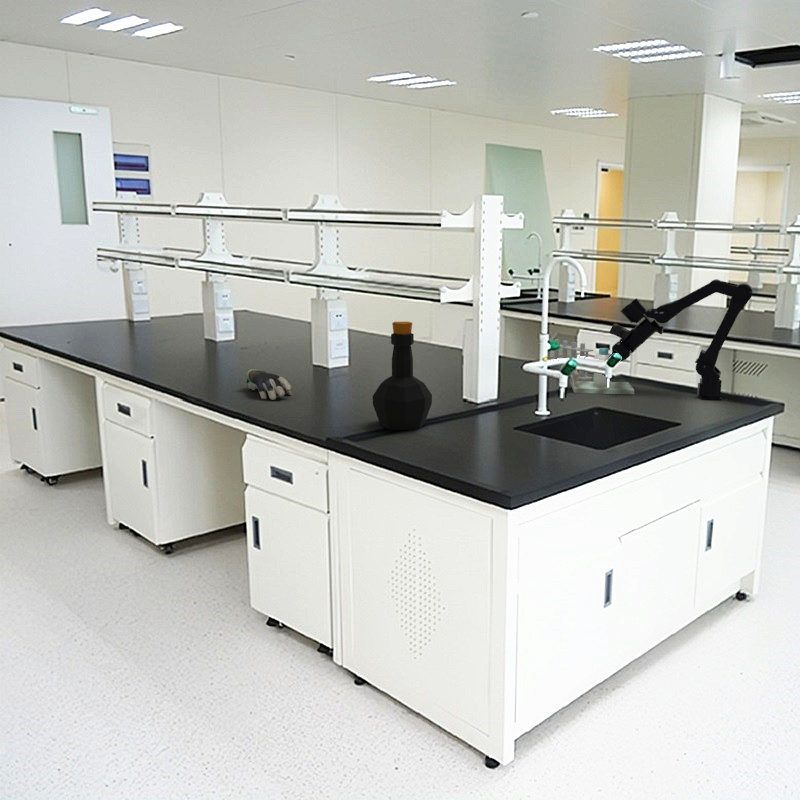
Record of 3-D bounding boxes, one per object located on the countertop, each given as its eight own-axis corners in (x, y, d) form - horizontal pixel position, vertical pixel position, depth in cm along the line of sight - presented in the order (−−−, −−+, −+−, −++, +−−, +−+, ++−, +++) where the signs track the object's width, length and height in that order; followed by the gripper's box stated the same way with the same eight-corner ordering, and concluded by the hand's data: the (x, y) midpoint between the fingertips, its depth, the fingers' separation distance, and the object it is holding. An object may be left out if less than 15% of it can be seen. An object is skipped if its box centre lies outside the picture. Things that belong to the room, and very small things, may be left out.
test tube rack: (592, 379, 307) (594, 344, 304) (584, 380, 305) (585, 345, 302) (545, 369, 327) (546, 336, 324) (536, 370, 325) (538, 337, 322)
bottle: (398, 416, 248) (397, 317, 241) (441, 424, 237) (442, 321, 231) (362, 426, 236) (361, 322, 229) (407, 435, 225) (407, 327, 219)
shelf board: (628, 386, 293) (629, 368, 291) (634, 394, 279) (635, 375, 278) (571, 385, 295) (571, 367, 294) (574, 392, 281) (575, 374, 280)
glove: (240, 397, 287) (265, 401, 266) (239, 369, 287) (265, 370, 265) (273, 396, 293) (300, 400, 272) (273, 368, 293) (300, 370, 271)
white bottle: (613, 385, 287) (615, 348, 284) (606, 387, 282) (608, 350, 280) (597, 383, 291) (599, 346, 288) (590, 385, 286) (592, 348, 283)
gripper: (628, 313, 287) (595, 343, 294) (620, 318, 271) (585, 350, 277) (650, 336, 286) (616, 365, 293) (643, 343, 269) (608, 374, 276)
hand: (606, 363), depth 285 cm, fingers open, 9 cm apart
